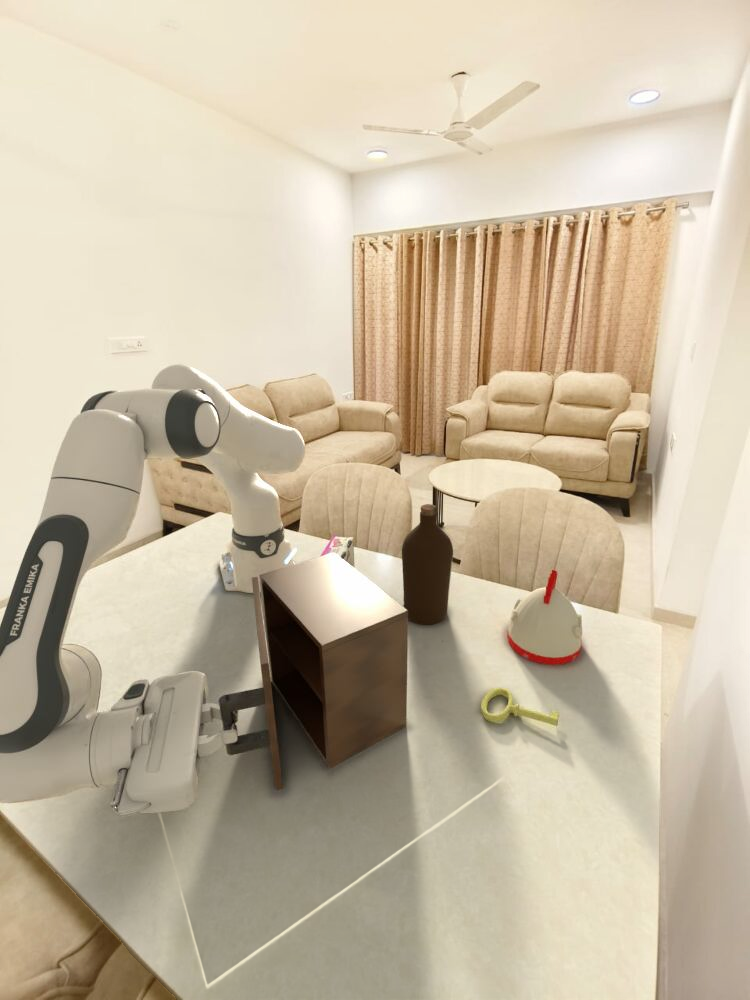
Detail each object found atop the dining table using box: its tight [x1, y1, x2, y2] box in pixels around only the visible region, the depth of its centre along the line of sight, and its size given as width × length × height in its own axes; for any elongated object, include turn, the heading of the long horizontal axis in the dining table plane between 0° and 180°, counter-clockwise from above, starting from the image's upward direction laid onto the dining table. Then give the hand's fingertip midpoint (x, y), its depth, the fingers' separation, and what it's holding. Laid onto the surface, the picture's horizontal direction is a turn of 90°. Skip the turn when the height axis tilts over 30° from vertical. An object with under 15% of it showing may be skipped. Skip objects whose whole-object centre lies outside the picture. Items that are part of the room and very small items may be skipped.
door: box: [218, 577, 283, 791], centre depth 75 cm, size 7×22×22 cm, turn 16°
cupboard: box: [259, 552, 409, 770], centre depth 81 cm, size 14×22×22 cm, turn 33°
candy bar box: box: [320, 535, 356, 569], centre depth 106 cm, size 11×5×16 cm, turn 168°
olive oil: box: [401, 503, 454, 626], centre depth 105 cm, size 11×11×25 cm
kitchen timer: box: [506, 569, 583, 666], centre depth 97 cm, size 14×14×15 cm
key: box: [480, 687, 560, 727], centre depth 83 cm, size 7×12×2 cm, turn 78°
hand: (237, 722), depth 67 cm, fingers closed
